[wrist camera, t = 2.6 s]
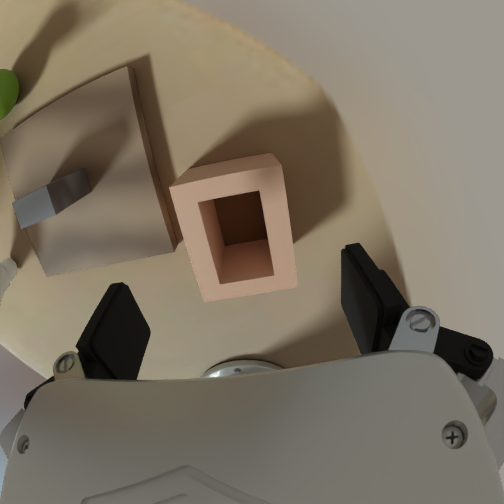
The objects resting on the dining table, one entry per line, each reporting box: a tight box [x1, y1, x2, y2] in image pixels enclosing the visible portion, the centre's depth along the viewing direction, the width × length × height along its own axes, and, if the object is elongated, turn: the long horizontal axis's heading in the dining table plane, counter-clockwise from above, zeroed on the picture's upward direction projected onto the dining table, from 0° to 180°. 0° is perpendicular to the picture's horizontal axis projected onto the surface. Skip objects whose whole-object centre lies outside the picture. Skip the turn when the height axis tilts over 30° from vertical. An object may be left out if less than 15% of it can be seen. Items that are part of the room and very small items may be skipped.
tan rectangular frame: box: [169, 153, 298, 302], centre depth 20 cm, size 7×9×6 cm
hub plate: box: [0, 66, 178, 277], centre depth 18 cm, size 16×16×7 cm
